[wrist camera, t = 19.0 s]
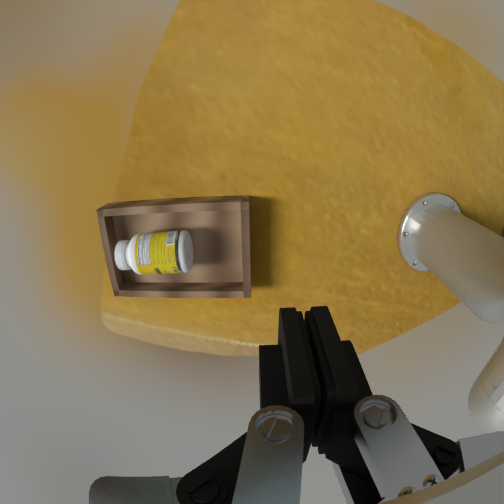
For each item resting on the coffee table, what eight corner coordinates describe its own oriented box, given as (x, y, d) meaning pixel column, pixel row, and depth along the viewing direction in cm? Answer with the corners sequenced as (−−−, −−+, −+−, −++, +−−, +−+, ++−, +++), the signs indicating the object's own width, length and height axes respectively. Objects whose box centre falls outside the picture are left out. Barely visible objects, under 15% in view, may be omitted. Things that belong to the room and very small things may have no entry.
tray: (249, 195, 37) (248, 201, 34) (251, 284, 42) (251, 297, 39) (107, 203, 37) (96, 209, 34) (123, 284, 43) (114, 296, 39)
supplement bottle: (195, 270, 39) (130, 272, 40) (193, 229, 39) (128, 234, 39) (185, 276, 34) (113, 277, 34) (183, 229, 33) (110, 235, 34)
